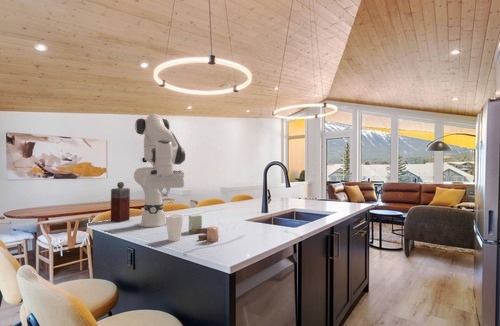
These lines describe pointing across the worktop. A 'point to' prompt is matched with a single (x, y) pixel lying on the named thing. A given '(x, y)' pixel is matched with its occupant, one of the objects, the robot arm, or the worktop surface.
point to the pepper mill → (120, 203)
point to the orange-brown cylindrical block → (212, 234)
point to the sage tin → (195, 221)
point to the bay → (196, 231)
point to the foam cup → (174, 226)
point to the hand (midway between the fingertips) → (164, 196)
